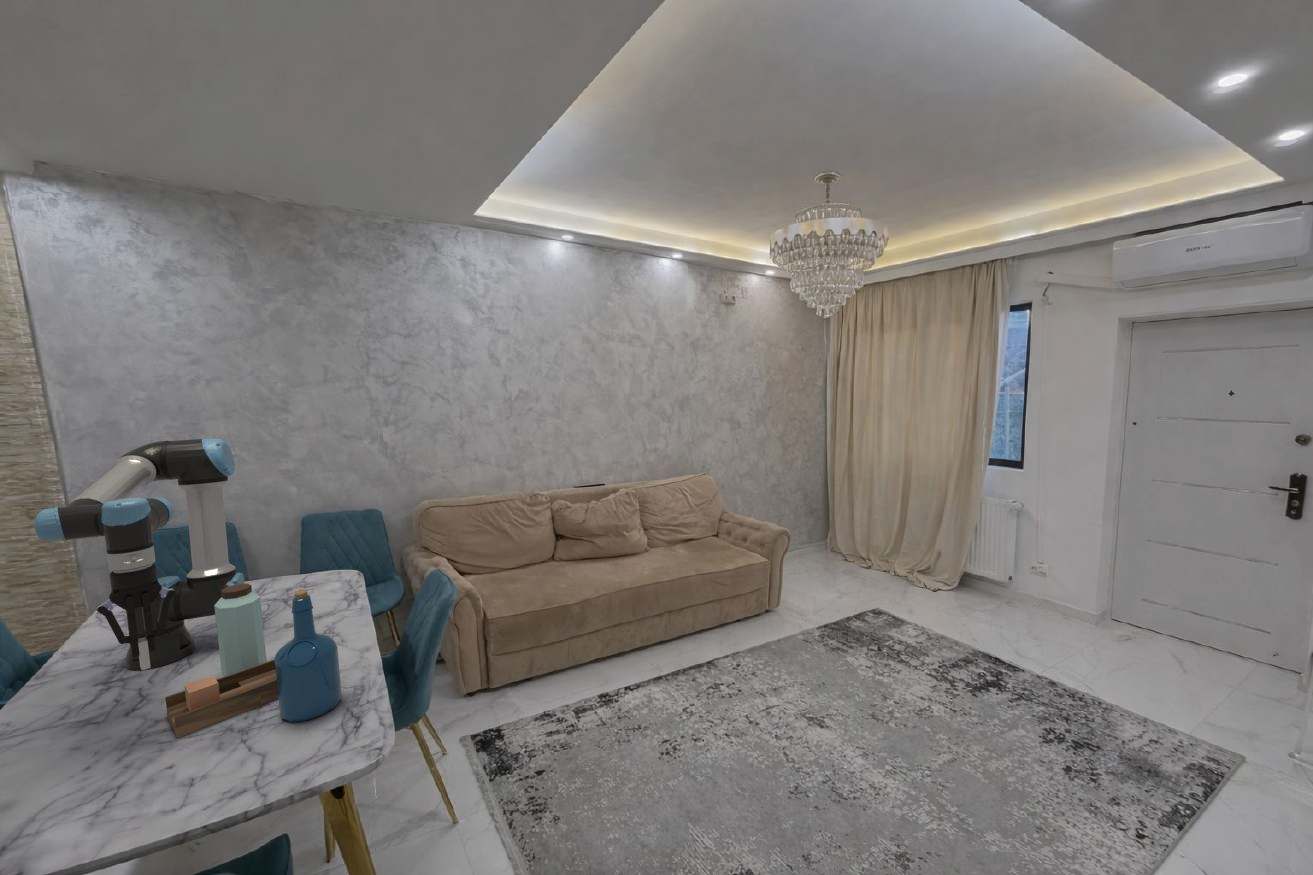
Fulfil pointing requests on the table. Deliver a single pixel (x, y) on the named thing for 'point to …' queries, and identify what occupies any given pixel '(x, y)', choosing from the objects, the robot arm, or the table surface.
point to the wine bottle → (307, 667)
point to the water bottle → (239, 629)
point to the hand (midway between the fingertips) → (145, 666)
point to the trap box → (225, 699)
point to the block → (202, 692)
